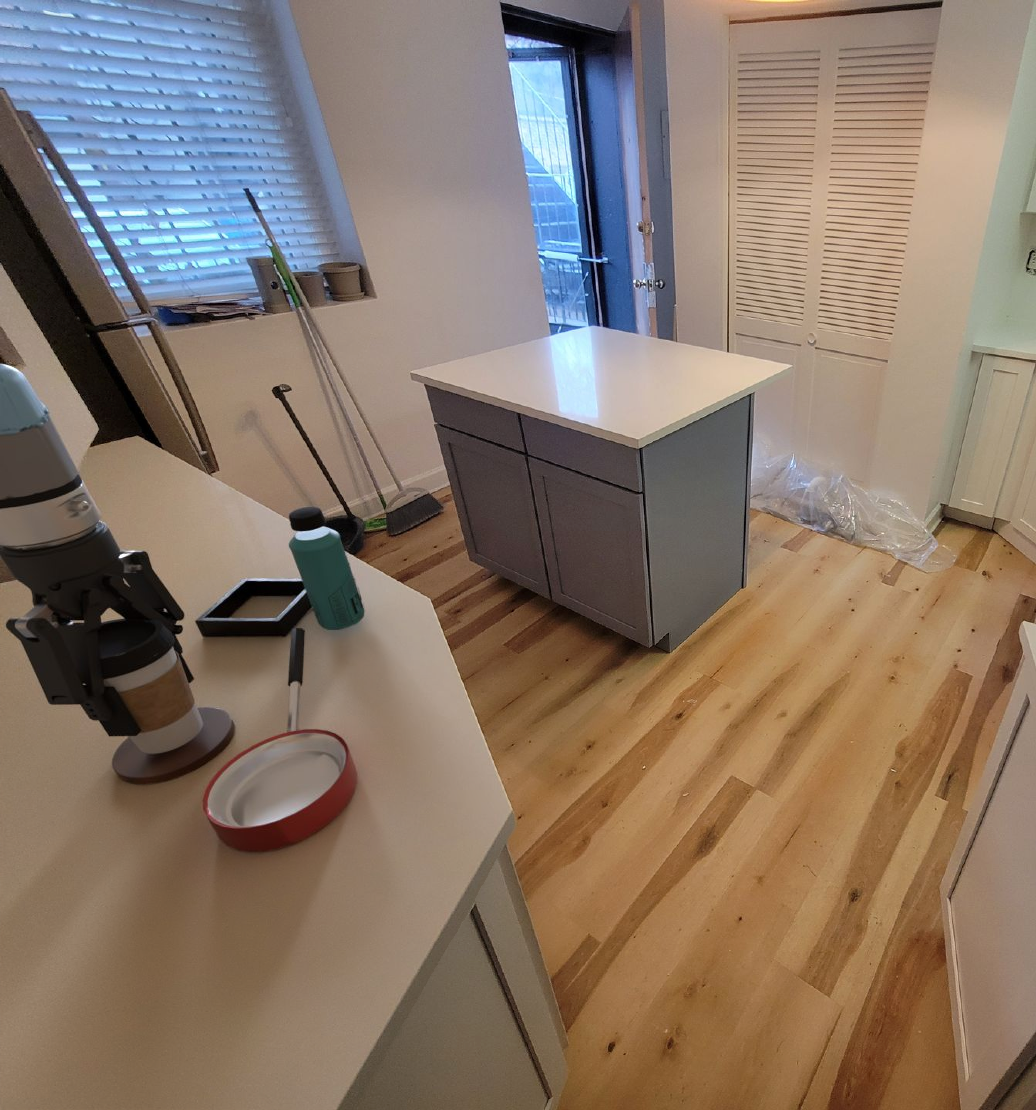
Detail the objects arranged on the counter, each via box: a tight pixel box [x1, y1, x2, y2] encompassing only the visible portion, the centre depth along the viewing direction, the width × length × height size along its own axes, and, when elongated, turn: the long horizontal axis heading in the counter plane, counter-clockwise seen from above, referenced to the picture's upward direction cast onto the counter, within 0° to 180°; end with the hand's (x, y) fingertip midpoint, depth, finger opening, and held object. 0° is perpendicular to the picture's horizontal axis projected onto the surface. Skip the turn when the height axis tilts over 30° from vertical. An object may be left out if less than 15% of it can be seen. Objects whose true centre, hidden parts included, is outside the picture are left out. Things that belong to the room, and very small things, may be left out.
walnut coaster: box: [111, 706, 236, 785], centre depth 73 cm, size 11×11×1 cm
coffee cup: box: [97, 618, 203, 754], centre depth 68 cm, size 8×8×15 cm
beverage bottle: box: [288, 506, 366, 631], centre depth 89 cm, size 6×7×20 cm
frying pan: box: [201, 627, 358, 853], centre depth 73 cm, size 32×13×6 cm, turn 33°
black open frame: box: [194, 577, 313, 638], centre depth 95 cm, size 12×12×3 cm
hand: (154, 705), depth 70 cm, fingers closed on coffee cup, 8 cm apart
